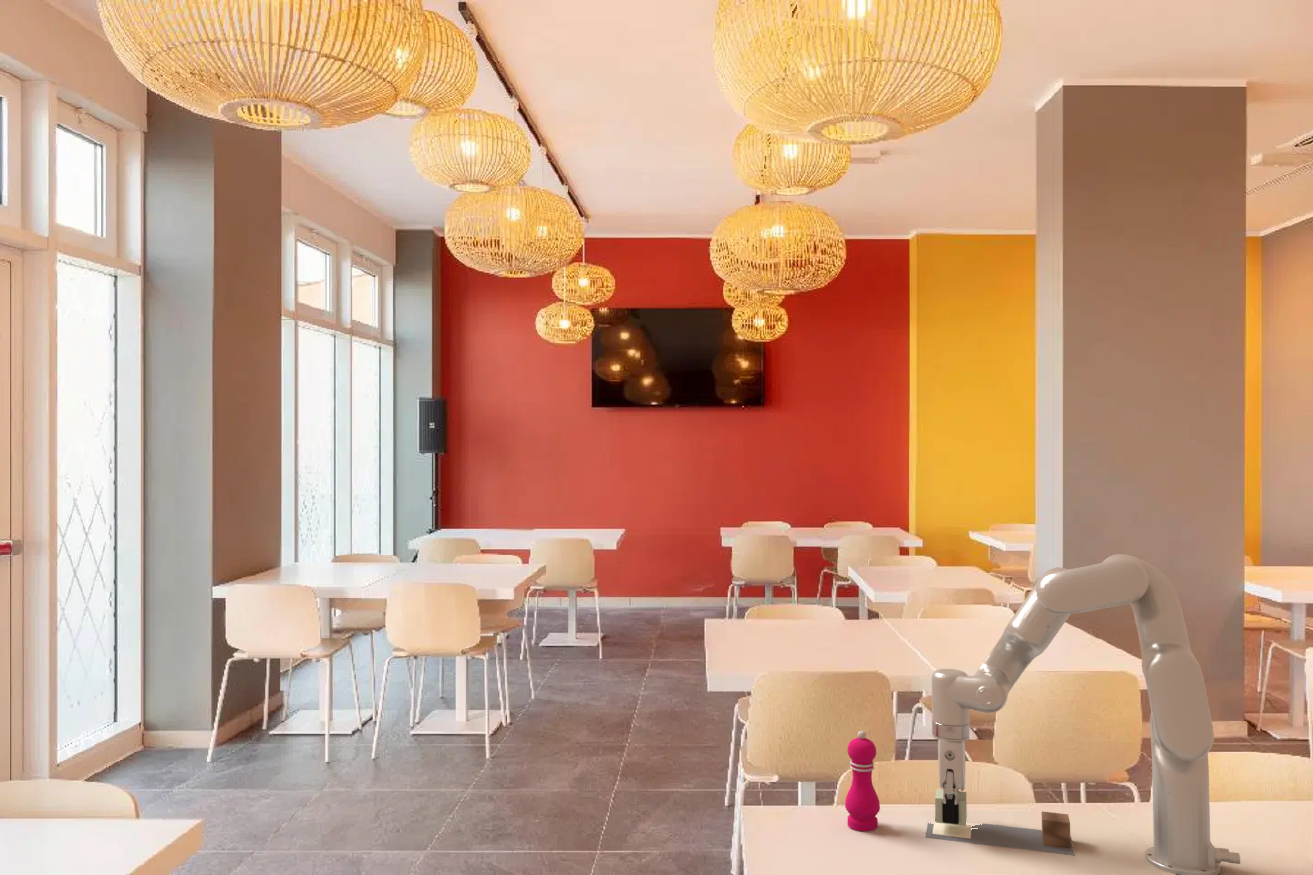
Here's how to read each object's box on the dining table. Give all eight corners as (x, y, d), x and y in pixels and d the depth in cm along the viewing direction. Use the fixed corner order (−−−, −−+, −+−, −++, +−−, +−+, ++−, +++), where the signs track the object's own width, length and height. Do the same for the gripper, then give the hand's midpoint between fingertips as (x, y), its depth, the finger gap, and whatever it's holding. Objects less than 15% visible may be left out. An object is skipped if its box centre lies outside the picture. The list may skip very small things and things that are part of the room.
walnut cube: (1068, 839, 191) (1068, 814, 192) (1070, 848, 187) (1070, 822, 187) (1042, 835, 193) (1041, 811, 193) (1043, 845, 188) (1042, 819, 189)
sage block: (966, 815, 198) (966, 791, 199) (965, 826, 193) (965, 801, 193) (936, 812, 200) (936, 788, 201) (935, 822, 195) (935, 797, 195)
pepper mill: (880, 833, 195) (879, 736, 196) (845, 831, 197) (844, 734, 198) (879, 821, 203) (878, 727, 203) (845, 818, 204) (844, 725, 205)
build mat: (1069, 835, 195) (1069, 832, 195) (1074, 857, 183) (1074, 854, 183) (928, 818, 204) (928, 816, 204) (925, 839, 193) (925, 836, 193)
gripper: (968, 742, 188) (969, 834, 187) (970, 721, 204) (971, 805, 204) (929, 739, 190) (930, 829, 190) (934, 718, 207) (934, 801, 206)
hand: (951, 816), depth 197 cm, fingers closed on sage block, 6 cm apart
